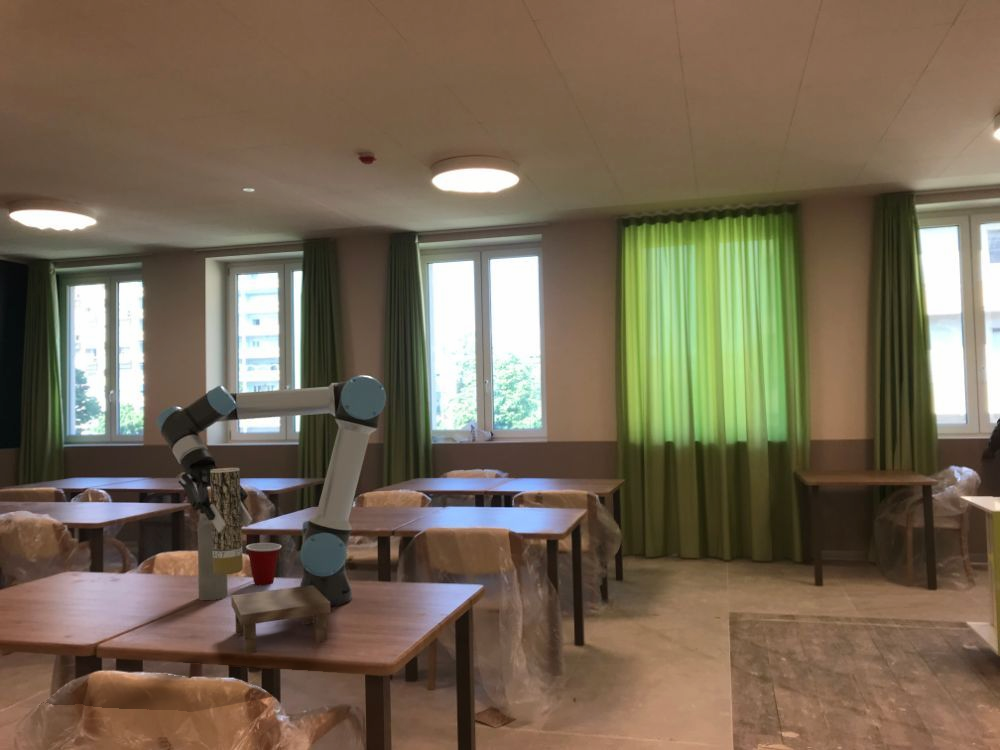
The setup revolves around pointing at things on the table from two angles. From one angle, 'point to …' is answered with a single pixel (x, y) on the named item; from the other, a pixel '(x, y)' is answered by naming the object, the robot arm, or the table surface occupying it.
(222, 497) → the paper tube
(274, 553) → the plastic cup
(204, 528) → the thermos bottle
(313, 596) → the stool
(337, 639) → the table surface
